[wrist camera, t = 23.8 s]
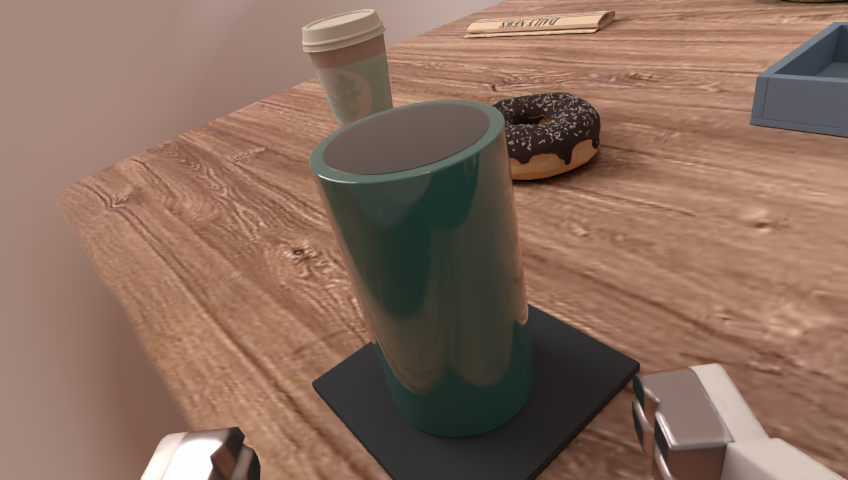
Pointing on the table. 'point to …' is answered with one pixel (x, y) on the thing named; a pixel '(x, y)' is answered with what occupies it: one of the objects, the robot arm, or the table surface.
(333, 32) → the coffee cup
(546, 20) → the newspaper
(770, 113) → the tray
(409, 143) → the teal cup
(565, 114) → the donut
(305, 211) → the table surface
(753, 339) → the table surface
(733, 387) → the robot arm
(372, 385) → the mat
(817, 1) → the saucer
